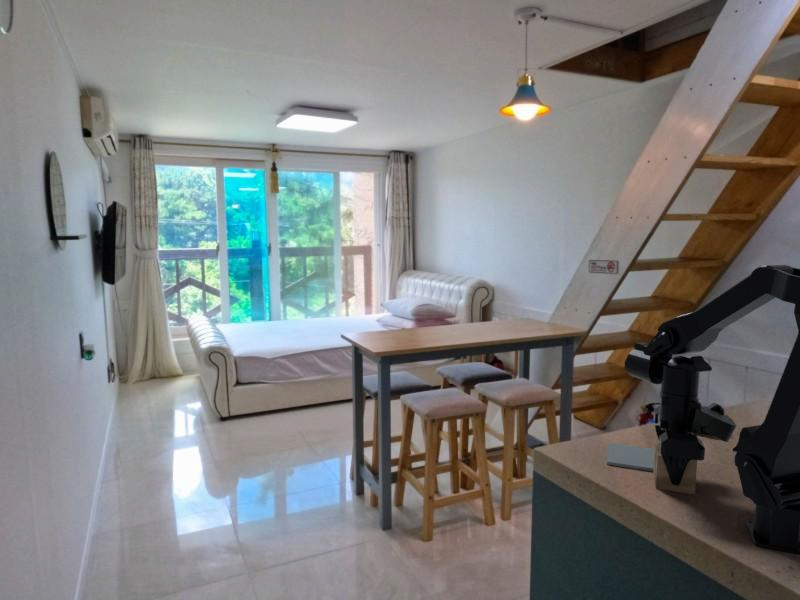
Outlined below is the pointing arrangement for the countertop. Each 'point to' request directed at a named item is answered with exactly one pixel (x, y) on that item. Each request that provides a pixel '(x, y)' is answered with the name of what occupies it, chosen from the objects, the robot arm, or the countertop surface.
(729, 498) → the countertop surface
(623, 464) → the coaster
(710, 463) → the countertop surface
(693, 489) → the beige cube
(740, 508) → the countertop surface
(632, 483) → the countertop surface
